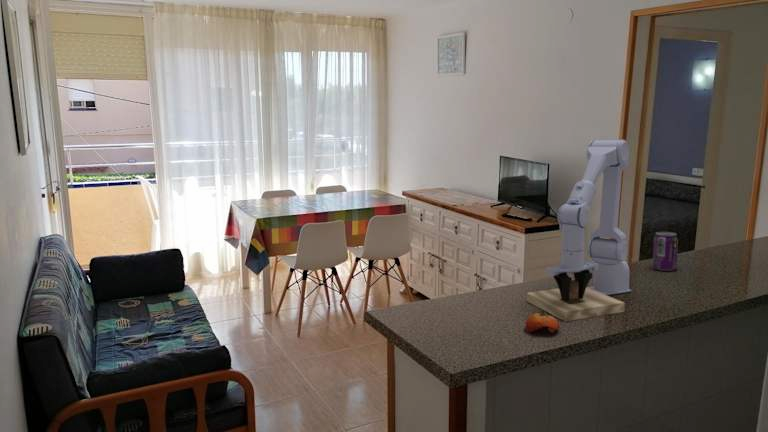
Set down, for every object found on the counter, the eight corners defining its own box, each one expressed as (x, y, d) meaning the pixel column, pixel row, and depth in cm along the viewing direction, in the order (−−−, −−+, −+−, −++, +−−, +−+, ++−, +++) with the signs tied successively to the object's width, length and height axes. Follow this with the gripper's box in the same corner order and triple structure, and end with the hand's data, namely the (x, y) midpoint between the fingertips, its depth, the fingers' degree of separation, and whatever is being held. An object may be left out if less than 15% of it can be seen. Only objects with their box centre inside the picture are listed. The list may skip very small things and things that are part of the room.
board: (581, 293, 167) (581, 285, 167) (624, 311, 150) (624, 302, 150) (526, 301, 162) (526, 292, 161) (565, 321, 145) (565, 311, 144)
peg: (573, 304, 156) (573, 279, 155) (582, 307, 152) (581, 281, 152) (560, 306, 155) (560, 280, 154) (569, 309, 151) (569, 283, 151)
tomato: (570, 326, 137) (552, 307, 135) (555, 350, 135) (536, 331, 133) (547, 321, 144) (530, 303, 142) (533, 344, 142) (515, 325, 140)
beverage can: (680, 271, 186) (682, 235, 184) (658, 272, 186) (660, 236, 184) (670, 266, 193) (671, 231, 191) (648, 266, 193) (650, 231, 191)
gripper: (586, 243, 157) (585, 291, 159) (540, 249, 152) (540, 298, 155) (603, 248, 150) (602, 298, 152) (555, 254, 146) (555, 305, 148)
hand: (572, 299), depth 153 cm, fingers closed on peg, 4 cm apart
